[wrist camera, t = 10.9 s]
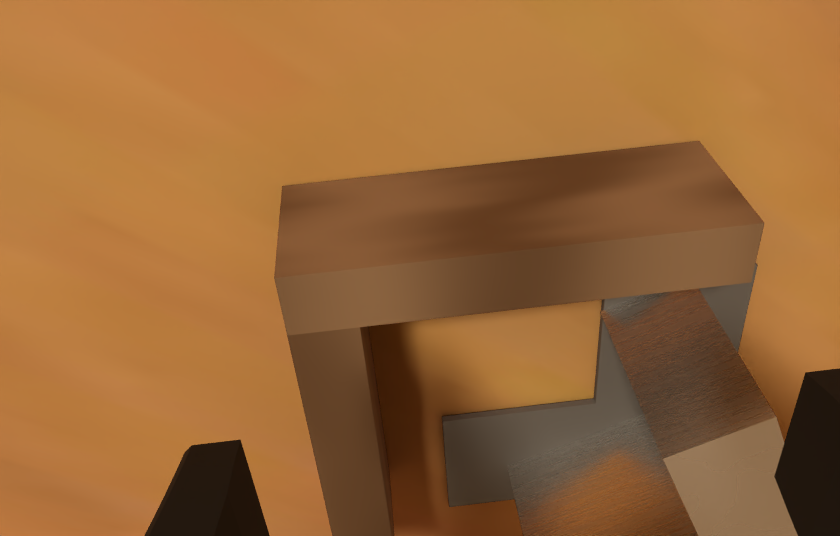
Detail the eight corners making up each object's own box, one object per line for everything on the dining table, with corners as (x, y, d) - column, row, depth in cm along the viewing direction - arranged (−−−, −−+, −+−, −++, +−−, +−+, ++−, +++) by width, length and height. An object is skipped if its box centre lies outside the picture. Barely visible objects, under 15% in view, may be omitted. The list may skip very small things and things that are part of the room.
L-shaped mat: (754, 260, 21) (757, 264, 21) (707, 470, 26) (709, 475, 26) (432, 296, 21) (433, 301, 21) (448, 502, 26) (449, 506, 26)
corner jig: (699, 140, 19) (764, 222, 16) (652, 441, 25) (693, 538, 22) (282, 186, 18) (274, 278, 16) (341, 479, 25) (343, 582, 22)
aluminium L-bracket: (744, 431, 25) (824, 577, 21) (535, 508, 26) (573, 659, 22) (689, 274, 21) (776, 416, 17) (446, 374, 22) (473, 528, 18)
